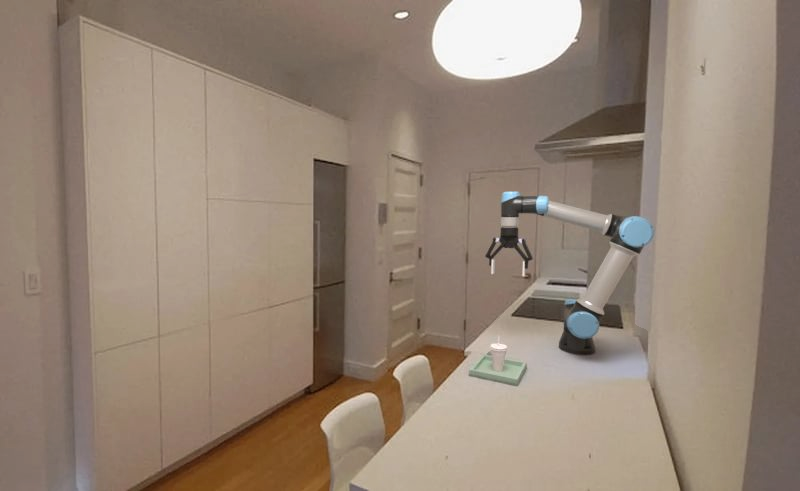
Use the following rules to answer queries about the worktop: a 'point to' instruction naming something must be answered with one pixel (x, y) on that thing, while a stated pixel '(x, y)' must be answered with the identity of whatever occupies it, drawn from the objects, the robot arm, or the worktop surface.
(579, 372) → the worktop surface
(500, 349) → the smoothie
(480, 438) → the worktop surface
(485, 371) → the tray
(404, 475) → the worktop surface
